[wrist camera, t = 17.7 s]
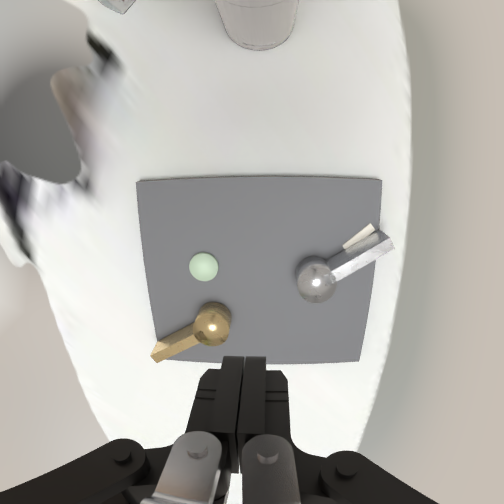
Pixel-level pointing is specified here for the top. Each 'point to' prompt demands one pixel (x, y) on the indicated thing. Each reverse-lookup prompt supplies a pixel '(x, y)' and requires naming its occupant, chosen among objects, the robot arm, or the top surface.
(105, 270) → the top surface
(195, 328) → the brass door handle
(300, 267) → the chrome lever handle
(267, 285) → the board
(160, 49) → the top surface
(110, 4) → the skincare box
